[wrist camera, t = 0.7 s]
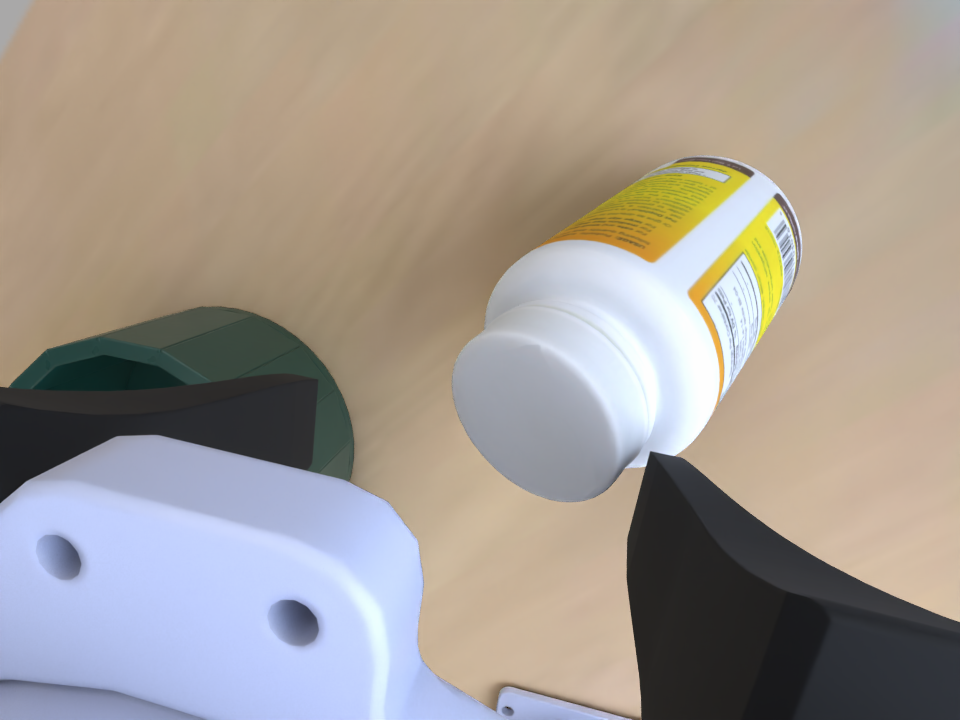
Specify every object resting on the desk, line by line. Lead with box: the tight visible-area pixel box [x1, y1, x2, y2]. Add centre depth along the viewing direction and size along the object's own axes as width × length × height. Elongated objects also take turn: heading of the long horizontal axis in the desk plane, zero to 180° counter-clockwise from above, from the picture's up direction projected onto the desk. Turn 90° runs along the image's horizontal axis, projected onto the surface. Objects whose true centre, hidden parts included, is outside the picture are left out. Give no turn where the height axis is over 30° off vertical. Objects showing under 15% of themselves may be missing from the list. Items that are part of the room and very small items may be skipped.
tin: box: [9, 307, 354, 482], centre depth 22 cm, size 11×11×6 cm
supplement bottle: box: [452, 155, 802, 502], centre depth 15 cm, size 6×6×10 cm
